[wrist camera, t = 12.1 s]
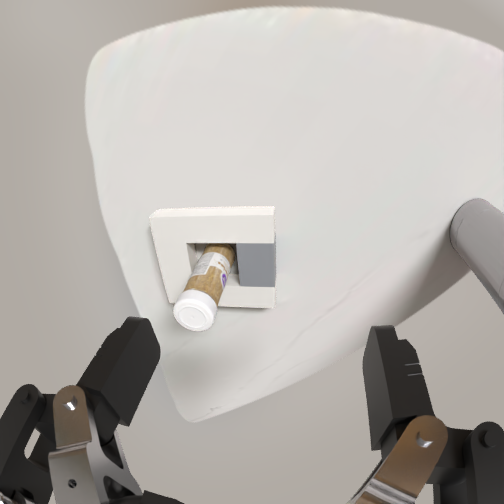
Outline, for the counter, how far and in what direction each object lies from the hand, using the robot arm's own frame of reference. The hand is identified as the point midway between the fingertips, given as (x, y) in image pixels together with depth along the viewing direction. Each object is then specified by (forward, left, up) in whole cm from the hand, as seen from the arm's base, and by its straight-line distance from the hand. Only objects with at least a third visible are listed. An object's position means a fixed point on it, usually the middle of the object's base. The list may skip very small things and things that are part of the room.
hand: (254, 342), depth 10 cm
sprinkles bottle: (+9, +12, -28) cm, 32 cm away
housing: (+9, +12, -28) cm, 32 cm away
